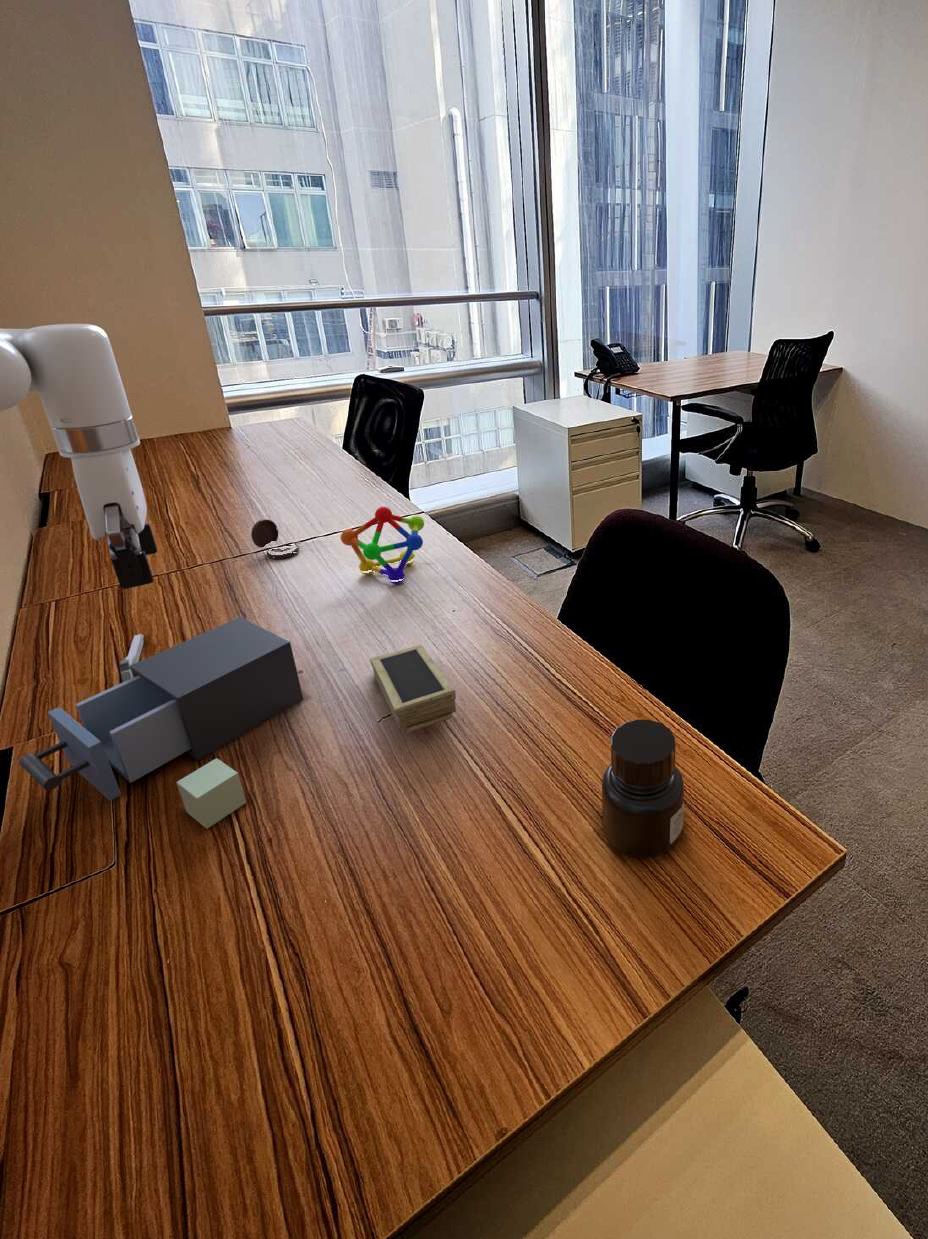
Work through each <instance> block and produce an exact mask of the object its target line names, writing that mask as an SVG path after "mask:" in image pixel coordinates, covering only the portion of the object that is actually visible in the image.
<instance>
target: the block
mask: <svg viewBox="0 0 928 1239" xmlns="http://www.w3.org/2000/svg"><path fill="white" fill-rule="evenodd" d="M176 785H177V788H178V791H179V794H180V797H181V800H182V803H183V806H184V810H185V812H186V813H187V814H188V815H189V816H191V817H192V818H193V820H195V821H196V822H198V823H199V824H200V825H201V826H203V828H205V829H206V830H208V829H209V828H211V827H212V826H214V825H215V824H217V823H218V822H220V821H221V820H223V819H224V818H226V817H227V816H229V815H230V814H232V813H233V812H234V811H236V810H238V809H239V808H240V807H242V806H243V805H246V803H247V800H246V797H245V794H244V789H243V787H242V784H241V780H240V776H239V773H238V772H237V771H236V770H234V769H233V768H232V767H230V766H228V765H227V764H226V763H224V762H223V761H222V760H220V759H219V758H214V759H213V760H211V761H209V762H208V763H206V764H204V765H203V766H201V767H199V768H197V769H196V770H194V771H192V772H191V773H188V774H187V775H186V776H185V777H183V778H181V779H179V780H178V781H177V780H176Z"/></svg>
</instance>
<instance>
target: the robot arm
mask: <svg viewBox="0 0 928 1239" xmlns="http://www.w3.org/2000/svg"><path fill="white" fill-rule="evenodd" d="M29 392H36V393H37V395H38V396H39V399H40V402H41V404H42V407H43V410H44V413H45V416H46V420H47V422H48V424H49V428H50V430H51V433H52V436H53V438H54V441H55V444H56V447H57V449H58V453H59V455H60V456H61V457H62V458H68V459H71V466H72V470H73V475H74V479H75V484H76V487H77V491H78V494H79V498H80V501H81V504H82V509H83V511H84V515H85V518H86V521H87V525H88V528H89V532H90V535H91V538H92V539H93V540H95V541H99V542H100V541H102V540H103V539H104V538H107V544H108V549H109V555H110V561H111V564H112V567H113V569H114V572H115V575H116V578H117V581H118V584H119V587H120V588H121V589H122V590H127V589H131V588H136V587H141V586H145V585H150V584H152V583H153V582H154V576H153V573H152V570H151V568H150V567H151V566H150V564H149V561H148V558H147V556H150V555H155V554H156V553H157V552H158V547H157V544H156V540H155V537H154V533H153V531H152V528H151V524H150V523H148V519H147V517H148V516H147V515H148V505H147V501H146V496H145V493H144V488H143V485H142V482H141V477H140V475H139V471H138V468H137V466H136V462H135V458H134V456H133V452H132V449H135V448H136V447H138V446H140V445H141V441H140V437H139V434H138V431H137V427H136V424H135V420H134V417H133V415H132V410H131V408H130V405H129V404H130V403H129V401H128V398H127V394H126V390H125V387H124V385H123V381H122V377H121V374H120V371H119V368H118V364H117V361H116V358H115V355H114V351H113V348H112V344H111V341H110V339H109V336H108V335H107V332H105V330H103V329H102V328H101V327H100V326H97V325H94V324H90V323H58V324H47V325H46V324H45V325H40V326H34V327H30V328H0V412H4V411H6V410H9V409H11V408H13V407H15V406H17V405H18V404H20V403H21V402H22V401H23V400H24V399H25V398H26V397H27V395H28V394H29Z"/></svg>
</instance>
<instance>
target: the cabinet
mask: <svg viewBox="0 0 928 1239" xmlns="http://www.w3.org/2000/svg"><path fill="white" fill-rule="evenodd" d="M296 665H297V664H296V660H295V656H294V653H293V648H292V643H291V641H289V640H288V639H285V638H283V637H282V636H279V635H277V634H276V633H273V632H272V631H270V630H268V629H265V628H263V627H261V626H260V625H257V624H255V623H254V622H251V621H249V620H247V619H245V618H243V617H242V616H239V617H236V618H235V619H231V620H229V621H227V622H226V623H223V624H221V625H218V626H216V627H213V628H212V629H209V630H207V631H205V632H203V633H200V634H198V635H195V636H193V637H191V638H189V639H187V640H184V641H183V642H179V643H178V644H176V645H173V646H171V647H168V648H167V649H164V650H161V651H160V652H157V653H155V654H153V655H150V656H148V657H146V658H143V659H141V660H139V662H137V663H135V664H133V665H130V669H131V672H132V675H133V678H134V677H136V676H140V677H141V678H142V679H144V680H145V681H147V682H148V683H150V684H151V685H153V686H154V687H156V688H157V689H159V690H160V691H162V692H163V693H165V694H166V695H168V696H169V697H170V698H172V699H173V700H175V701H176V702H177V705H178V708H179V711H180V715H181V718H182V721H183V724H184V727H185V730H186V733H187V736H188V739H189V743H190V746H191V749H189V750H188V751H186V752H185V753H187V754H188V755H189V756H191V757H192V758H194V759H195V760H196V761H199V760H201V759H203V758H204V757H206V756H208V755H210V754H211V753H213V752H215V751H216V750H218V749H220V748H221V747H223V746H225V745H227V744H229V743H230V742H232V741H233V740H235V739H237V738H239V737H241V736H242V735H244V734H245V733H248V732H249V731H251V730H253V729H254V728H256V727H258V726H259V725H261V724H262V723H264V722H266V721H268V720H269V719H271V718H273V717H274V716H276V715H278V714H280V713H282V712H283V711H285V710H286V709H288V708H290V707H291V706H293V705H295V704H297V703H299V702H300V701H302V700H303V699H304V696H303V691H302V687H301V682H300V678H299V675H298V670H297V666H296Z"/></svg>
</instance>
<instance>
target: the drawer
mask: <svg viewBox="0 0 928 1239" xmlns="http://www.w3.org/2000/svg"><path fill="white" fill-rule="evenodd" d="M75 707H76V710H77V713H78V715H79V717H80V720H81V722H82V725H81V724H80V723H79V722H78V721H77V720H75V719H74V718H73V717H72V716H71V715H69V714H68V713H67V712H66V711H65V710H64V709H62V707H60V706H57V707H55V708H53V709H52V710H49V711H47V715H48V717H49V720H50V722H51V724H52V727H53V729H54V732H55V734H56V736H57V739H58V741H59V742H58V743H56V744H54V745H52V746H50V747H48V748H46V749H44V750H41V751H39V752H37V753H33V752H31V753H26V754H24V755H22V756H21V758H20V759H19V765H20V766H21V767H22V768H23V769H24V771H26V772H27V773H28V774H29V775H30V776H31V777H32V778H33V779H34V780H35V781H36V782H37V783H38V784H39V785H40V786H41V788H43V789H44V790H45V791H53V790H55V789H56V788H58V787H59V786H60V784H61V782H62V781H64V780H65V779H67V778H69V777H71V776H72V775H74V774H76V773H79V775H81V776H82V777H83V778H84V779H85V780H86V781H87V782H88V783H89V784H90V785H91V786H93V787H94V789H96V790H97V791H98V792H99V793H100V794H101V795H102V796H103V797H104V798H106V799H107V800H108V801H109V802H111V801H113V800H114V799H116V798H118V797H119V796H121V795H122V793H121V790H120V788H119V785H118V783H117V782H118V781H117V780H116V777H115V774H114V771H113V770H115V771H116V772H117V773H119V775H121V776H122V778H124V779H125V780H126V781H128V782H129V783H130V784H131V783H133V782H135V781H137V780H138V779H141V778H142V777H144V776H146V775H147V774H149V773H150V772H152V771H154V770H156V769H157V768H160V767H161V766H164V765H165V764H166V763H168V762H171V761H172V760H174V759H175V758H178V757H179V756H181V755H182V754H184V753H187V752H186V751H188V750H189V749H191V746H190V743H189V739H188V736H187V733H186V730H185V727H184V724H183V721H182V718H181V715H180V711H179V708H178V705H177V702H176V701H175V700H173V699H172V698H170V697H169V696H168V695H166V694H165V693H163V692H162V691H160V690H159V689H157V688H156V687H154V686H153V685H151V684H150V683H148V682H147V681H145V680H144V679H142V678H141V677H140V676H136V677H134V678H131V679H129V680H127V681H125V682H123V681H122V682H120V683H118V684H115V685H114V686H111V687H109V688H107V689H106V690H103V691H100V692H99V693H96V694H94V695H92V696H90V697H88V698H86V699H84V700H81V701H80V702H77V703H75ZM60 750H62V751H63V754H64V756H65V758H66V761H67V763H68V764H69V765H70V766H71V767H69V768H67V769H65V770H63V771H61V772H60V773H58V774H56V773H55V772H54V771H53V770H52V769H51V768H50V767H48V765H47V764H46V763H45V762H44V761H42V760H43V759H44V758H47V757H48V756H50V755H52V754H54V753H56V752H59V751H60ZM112 768H113V769H112Z"/></svg>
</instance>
